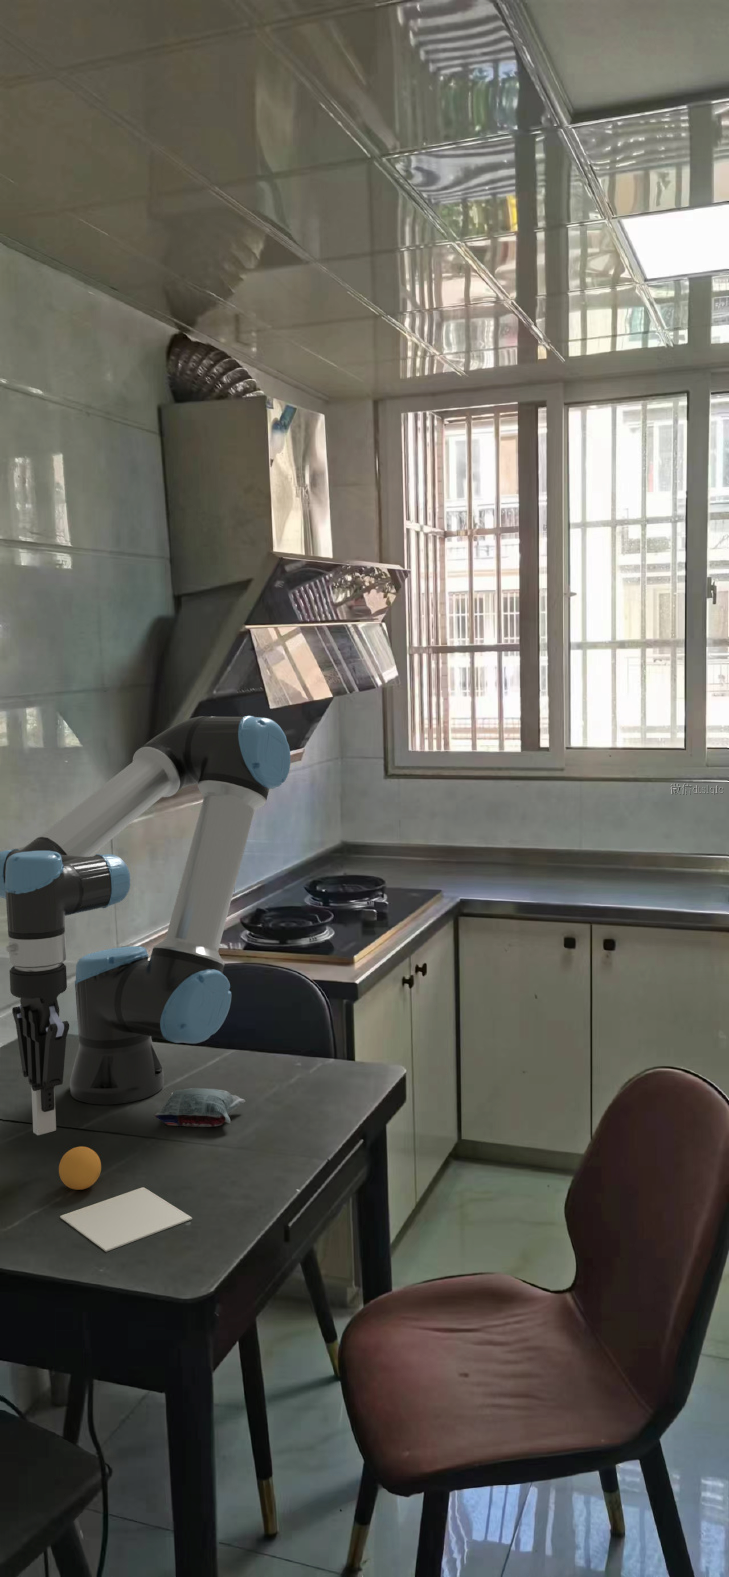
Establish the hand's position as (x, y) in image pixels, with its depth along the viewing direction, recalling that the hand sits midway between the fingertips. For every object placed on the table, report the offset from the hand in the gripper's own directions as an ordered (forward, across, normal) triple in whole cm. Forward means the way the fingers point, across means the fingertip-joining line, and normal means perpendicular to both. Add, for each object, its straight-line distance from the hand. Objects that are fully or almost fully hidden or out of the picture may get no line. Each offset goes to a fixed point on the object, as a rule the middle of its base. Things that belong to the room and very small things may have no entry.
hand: (44, 1131), depth 164 cm
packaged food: (+5, 0, +25) cm, 26 cm away
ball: (+3, +9, 0) cm, 10 cm away
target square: (+5, +21, 0) cm, 22 cm away
